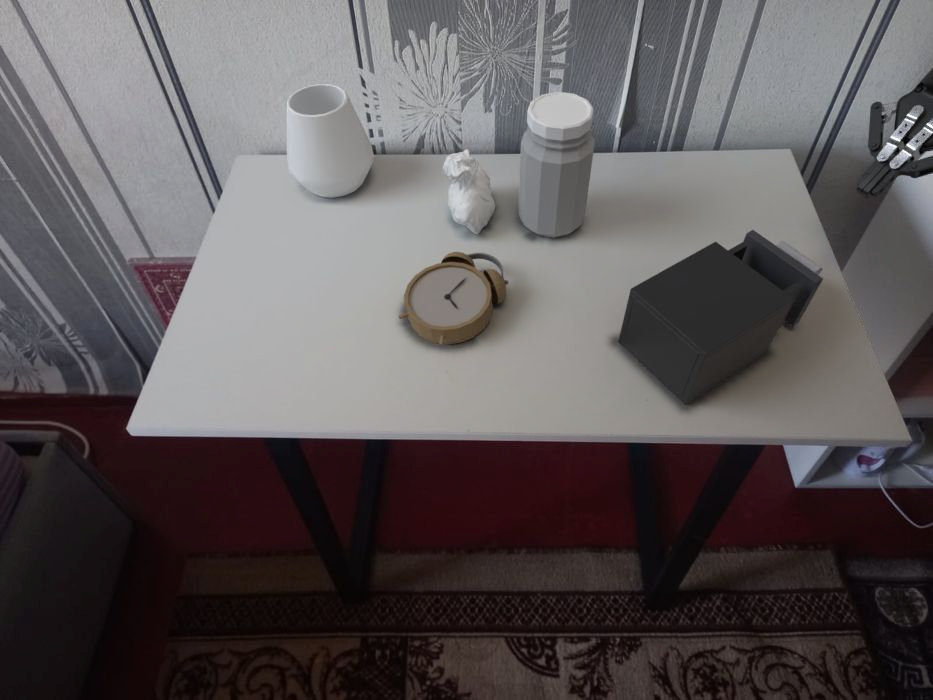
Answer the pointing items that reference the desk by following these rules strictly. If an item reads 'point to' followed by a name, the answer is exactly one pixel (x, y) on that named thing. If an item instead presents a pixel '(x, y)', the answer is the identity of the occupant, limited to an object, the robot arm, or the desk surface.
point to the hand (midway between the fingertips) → (862, 194)
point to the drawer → (782, 270)
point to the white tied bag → (468, 191)
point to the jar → (556, 164)
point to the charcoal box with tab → (702, 320)
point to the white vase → (326, 141)
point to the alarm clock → (453, 298)
